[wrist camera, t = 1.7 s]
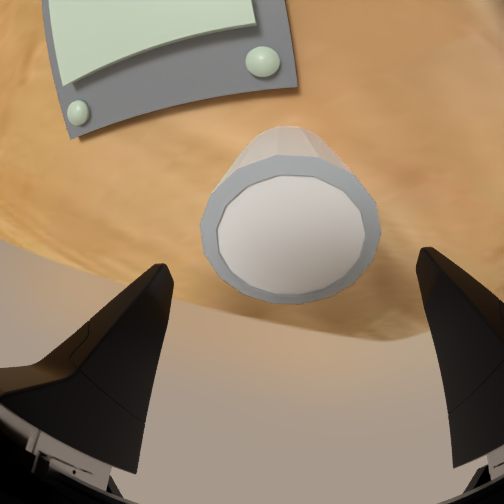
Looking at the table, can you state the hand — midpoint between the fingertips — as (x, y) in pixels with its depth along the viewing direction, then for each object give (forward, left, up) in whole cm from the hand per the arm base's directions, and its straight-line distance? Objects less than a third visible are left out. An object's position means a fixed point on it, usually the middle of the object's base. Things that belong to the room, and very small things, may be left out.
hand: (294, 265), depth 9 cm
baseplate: (+6, -14, -8) cm, 17 cm away
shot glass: (0, 0, -9) cm, 9 cm away
